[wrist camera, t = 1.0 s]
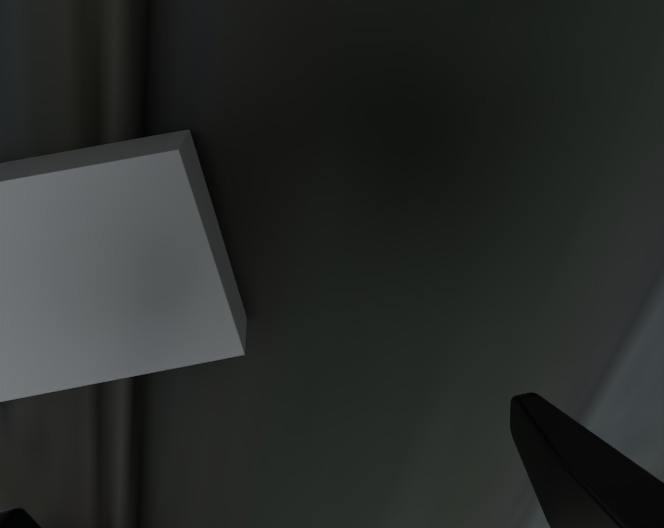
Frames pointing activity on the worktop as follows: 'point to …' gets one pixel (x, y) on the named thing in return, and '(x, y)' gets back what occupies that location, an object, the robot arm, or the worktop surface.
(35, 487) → the worktop surface
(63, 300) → the slate board
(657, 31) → the worktop surface
